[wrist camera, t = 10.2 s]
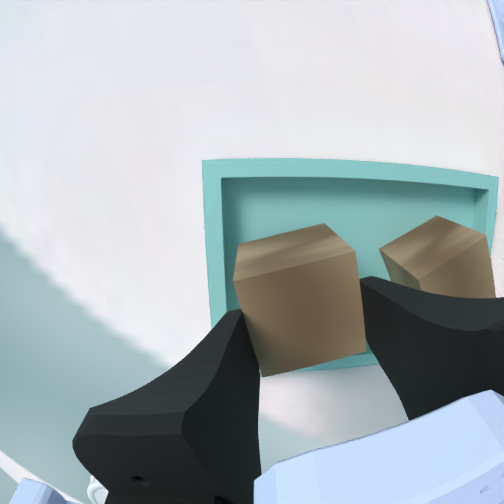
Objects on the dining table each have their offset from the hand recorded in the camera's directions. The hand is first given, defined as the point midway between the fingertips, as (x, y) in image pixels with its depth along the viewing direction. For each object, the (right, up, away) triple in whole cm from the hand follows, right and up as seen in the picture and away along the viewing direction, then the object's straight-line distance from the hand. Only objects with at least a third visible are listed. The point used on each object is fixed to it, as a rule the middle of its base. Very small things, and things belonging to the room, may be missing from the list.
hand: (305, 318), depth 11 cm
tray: (+4, +2, +5) cm, 7 cm away
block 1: (0, +1, +4) cm, 4 cm away
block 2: (+7, +2, +5) cm, 9 cm away
